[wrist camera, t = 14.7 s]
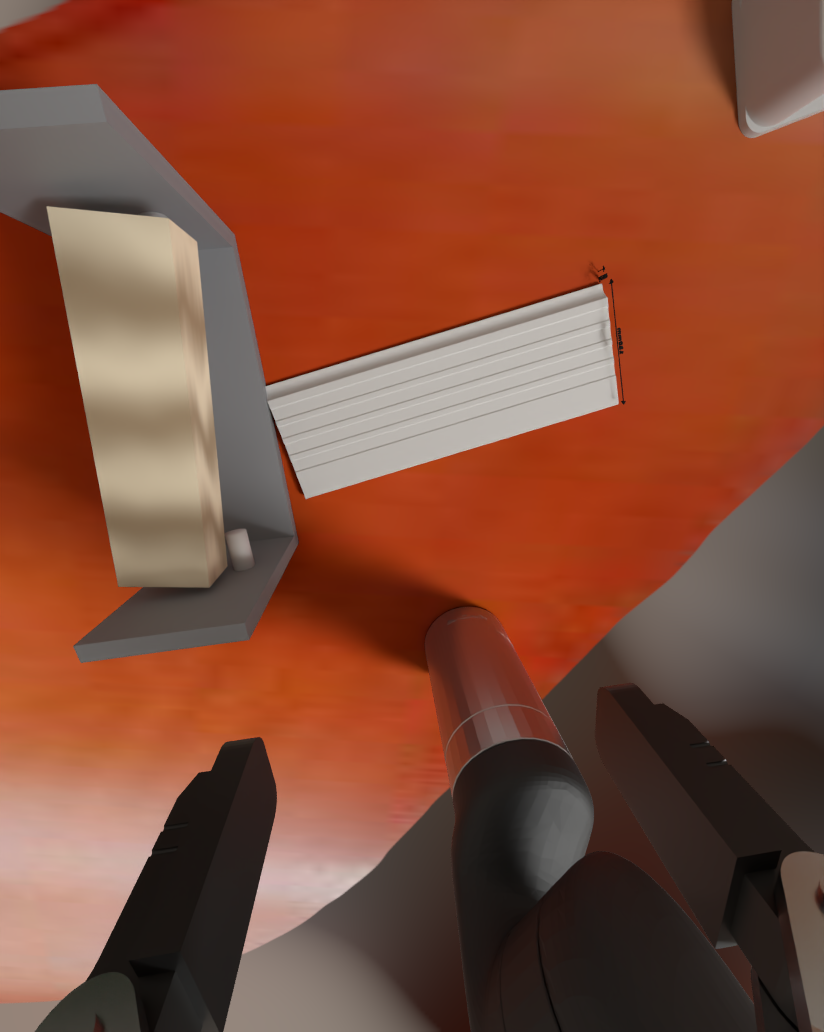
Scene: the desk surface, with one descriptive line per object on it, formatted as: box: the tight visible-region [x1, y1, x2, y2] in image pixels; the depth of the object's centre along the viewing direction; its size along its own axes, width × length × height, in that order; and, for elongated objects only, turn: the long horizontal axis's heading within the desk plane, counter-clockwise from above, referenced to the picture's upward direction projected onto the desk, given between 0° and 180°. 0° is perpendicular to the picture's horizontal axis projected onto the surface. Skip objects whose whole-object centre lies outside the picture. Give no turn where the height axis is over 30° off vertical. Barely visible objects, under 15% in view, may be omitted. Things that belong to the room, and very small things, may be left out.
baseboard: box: [265, 266, 626, 499], centre depth 35 cm, size 31×3×12 cm
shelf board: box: [46, 206, 227, 588], centre depth 26 cm, size 22×6×4 cm, turn 177°
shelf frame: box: [0, 84, 299, 663], centre depth 27 cm, size 26×10×16 cm, turn 6°
